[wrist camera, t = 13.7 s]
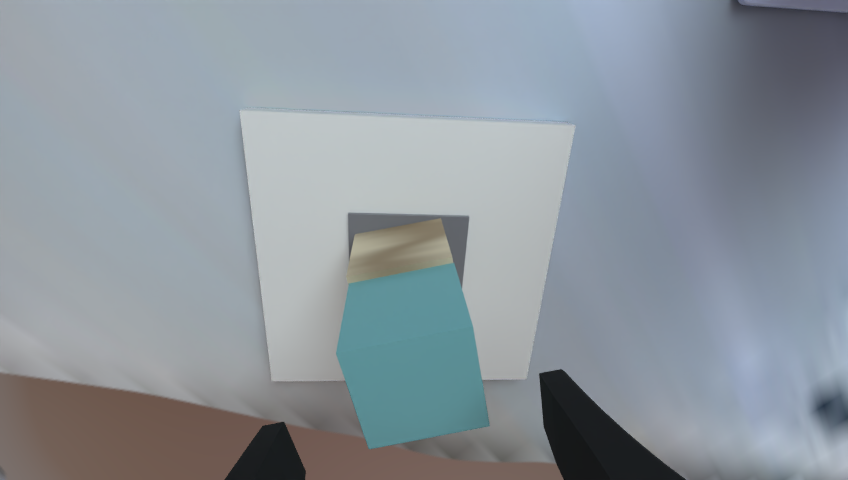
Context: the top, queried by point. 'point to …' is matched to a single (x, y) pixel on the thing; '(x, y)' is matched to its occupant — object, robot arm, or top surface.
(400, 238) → the birch brick
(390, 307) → the teal brick
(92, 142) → the top surface
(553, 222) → the baseplate
